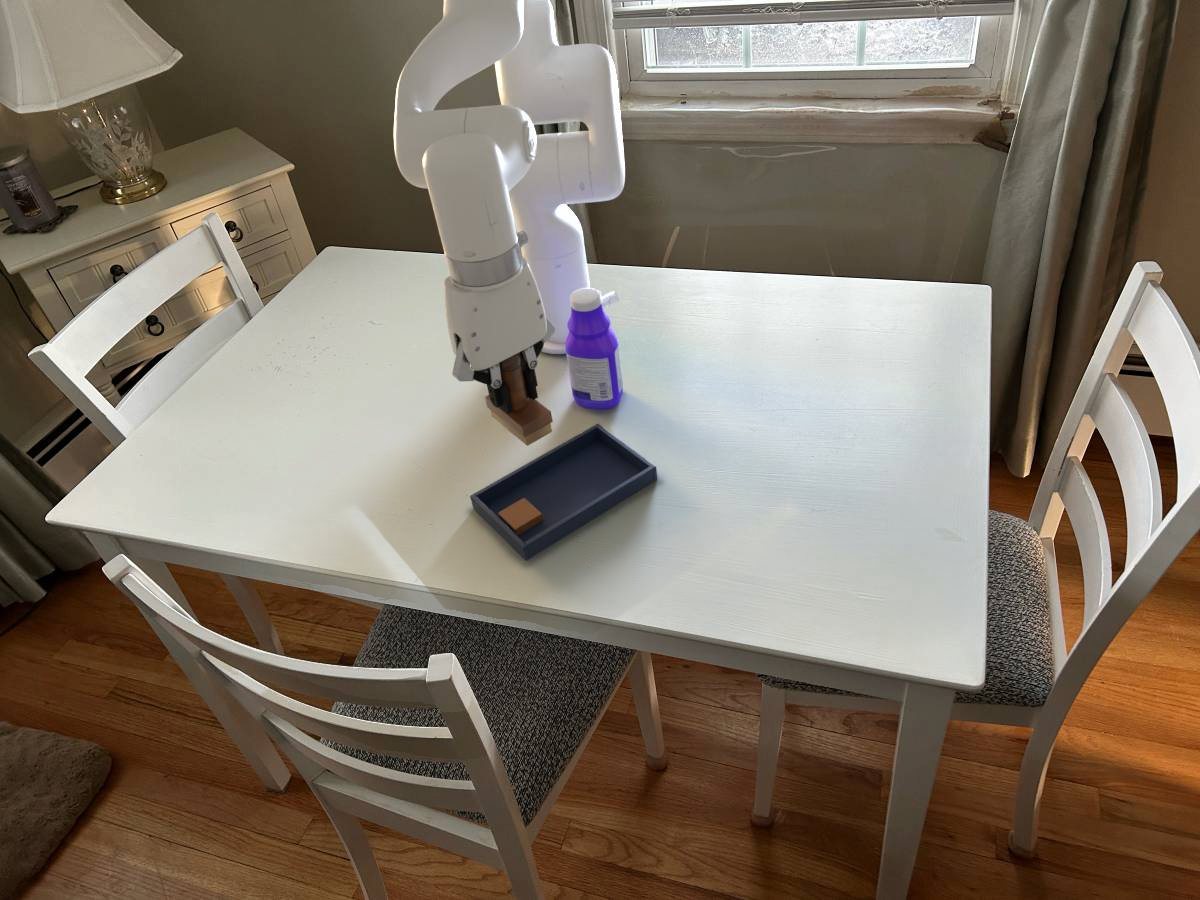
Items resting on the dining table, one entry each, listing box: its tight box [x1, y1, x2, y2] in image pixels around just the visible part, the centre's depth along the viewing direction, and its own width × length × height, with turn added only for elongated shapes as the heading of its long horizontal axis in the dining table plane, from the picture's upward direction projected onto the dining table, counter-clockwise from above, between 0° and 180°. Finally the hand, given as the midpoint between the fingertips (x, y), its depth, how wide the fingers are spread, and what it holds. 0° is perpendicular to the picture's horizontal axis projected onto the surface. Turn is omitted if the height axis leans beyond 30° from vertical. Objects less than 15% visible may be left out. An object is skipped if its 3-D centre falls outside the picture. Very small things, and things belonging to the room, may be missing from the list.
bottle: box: [565, 287, 624, 410], centre depth 124 cm, size 7×6×17 cm
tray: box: [469, 423, 658, 562], centre depth 114 cm, size 20×12×3 cm, turn 127°
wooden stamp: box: [484, 352, 553, 447], centre depth 103 cm, size 4×8×11 cm, turn 37°
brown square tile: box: [498, 498, 543, 536], centre depth 111 cm, size 4×4×1 cm
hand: (515, 399), depth 104 cm, fingers closed on wooden stamp, 2 cm apart
